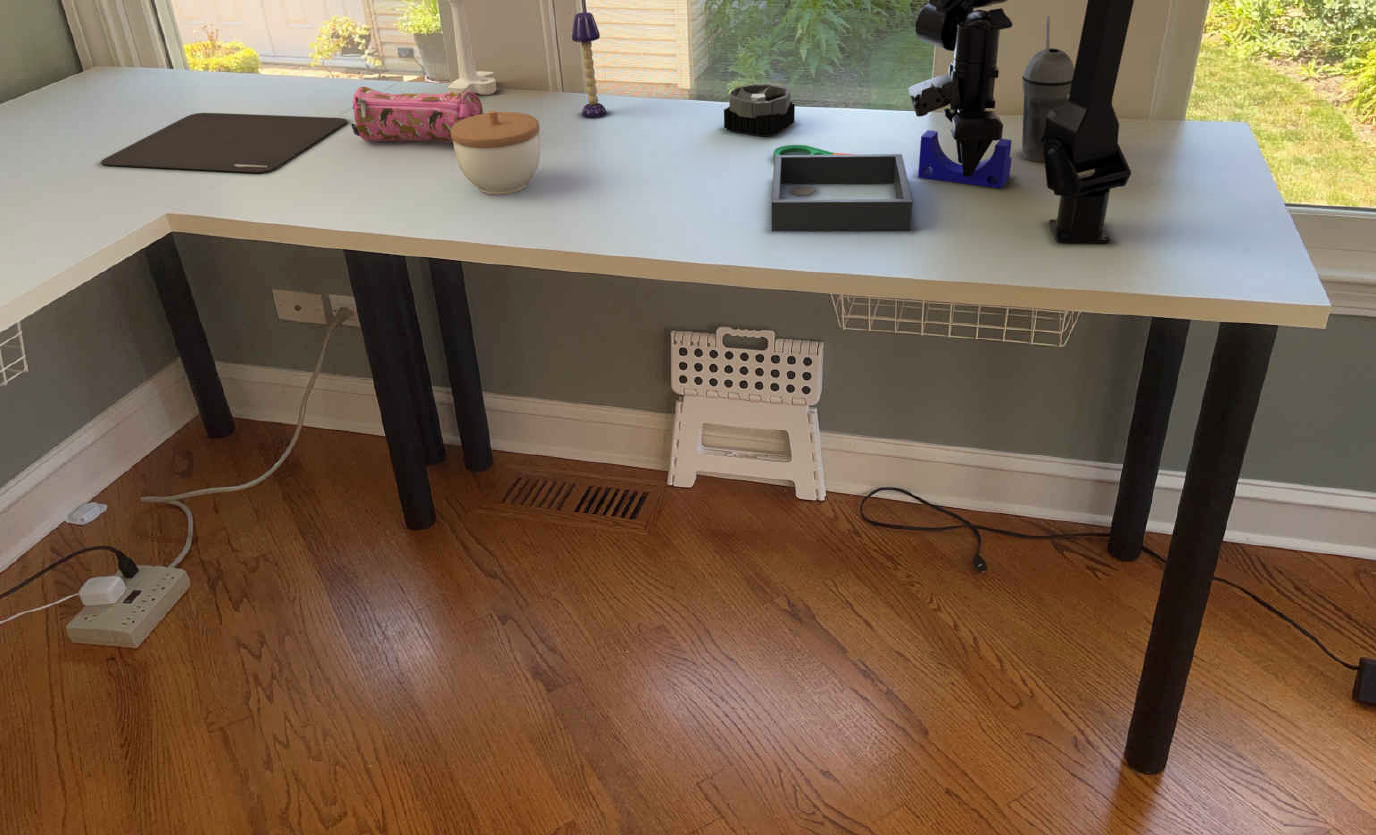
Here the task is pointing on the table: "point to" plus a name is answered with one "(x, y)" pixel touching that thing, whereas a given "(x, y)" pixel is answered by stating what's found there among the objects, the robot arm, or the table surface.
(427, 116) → the pencil case
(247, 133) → the mouse pad
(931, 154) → the blue u-shaped bracket
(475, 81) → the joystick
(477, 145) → the lidded bowl
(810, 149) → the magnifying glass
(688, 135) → the table surface
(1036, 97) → the beverage cup
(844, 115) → the table surface
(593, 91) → the toy lamp
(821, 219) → the dark grey square tray
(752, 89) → the cpu cooler
